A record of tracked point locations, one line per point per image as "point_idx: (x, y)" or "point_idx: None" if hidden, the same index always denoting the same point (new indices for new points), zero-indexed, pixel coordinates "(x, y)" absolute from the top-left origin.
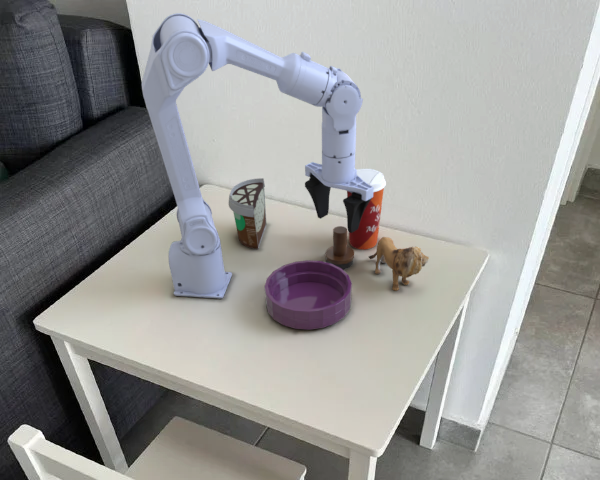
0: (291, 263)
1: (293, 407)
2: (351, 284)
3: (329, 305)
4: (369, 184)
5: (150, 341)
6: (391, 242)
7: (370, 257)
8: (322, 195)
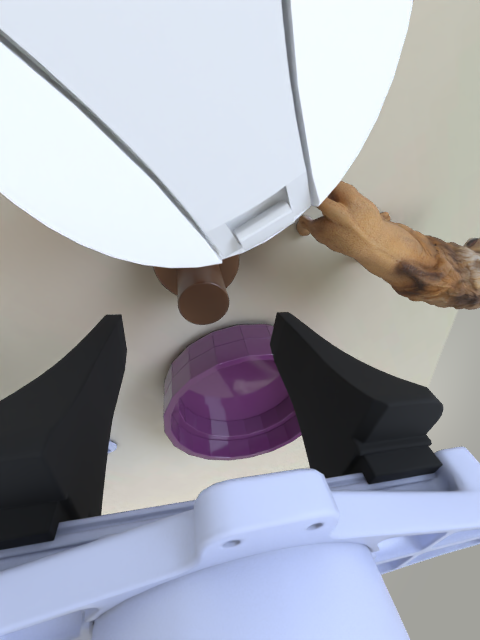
0: (172, 403)
1: None
2: None
3: None
4: (306, 187)
5: (132, 504)
6: (383, 235)
7: None
8: (100, 419)
